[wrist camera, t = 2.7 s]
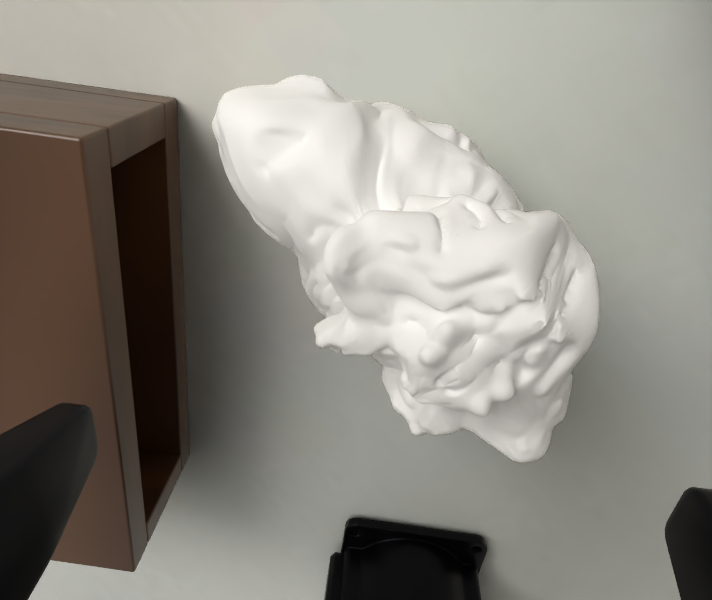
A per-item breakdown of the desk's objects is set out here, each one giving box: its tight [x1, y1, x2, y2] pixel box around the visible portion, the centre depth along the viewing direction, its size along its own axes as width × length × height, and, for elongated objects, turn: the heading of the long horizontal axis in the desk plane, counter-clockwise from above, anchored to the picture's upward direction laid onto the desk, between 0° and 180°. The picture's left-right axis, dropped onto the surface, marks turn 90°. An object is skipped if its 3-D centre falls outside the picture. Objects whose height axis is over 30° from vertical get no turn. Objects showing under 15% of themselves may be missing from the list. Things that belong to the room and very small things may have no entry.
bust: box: [212, 75, 600, 463], centre depth 14 cm, size 12×8×11 cm
